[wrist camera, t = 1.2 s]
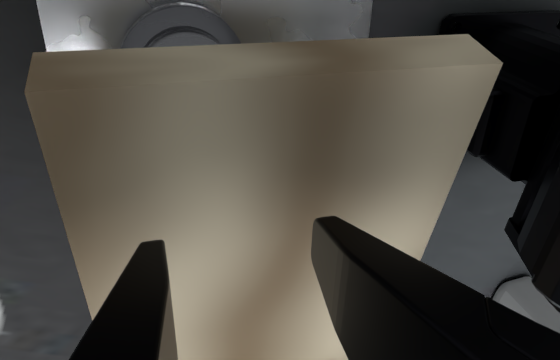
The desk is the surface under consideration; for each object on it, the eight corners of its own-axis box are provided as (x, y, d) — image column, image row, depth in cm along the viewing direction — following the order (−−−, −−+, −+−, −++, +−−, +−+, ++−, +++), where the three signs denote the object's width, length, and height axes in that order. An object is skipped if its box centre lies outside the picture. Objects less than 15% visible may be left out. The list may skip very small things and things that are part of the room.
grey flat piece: (368, -59, 19) (417, -49, 16) (322, 377, 31) (345, 431, 28) (28, -63, 16) (5, -52, 13) (126, 421, 28) (127, 487, 25)
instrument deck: (468, 33, 12) (542, 95, 10) (333, 416, 27) (352, 474, 25) (32, 52, 10) (14, 138, 8) (143, 463, 24) (146, 531, 22)
